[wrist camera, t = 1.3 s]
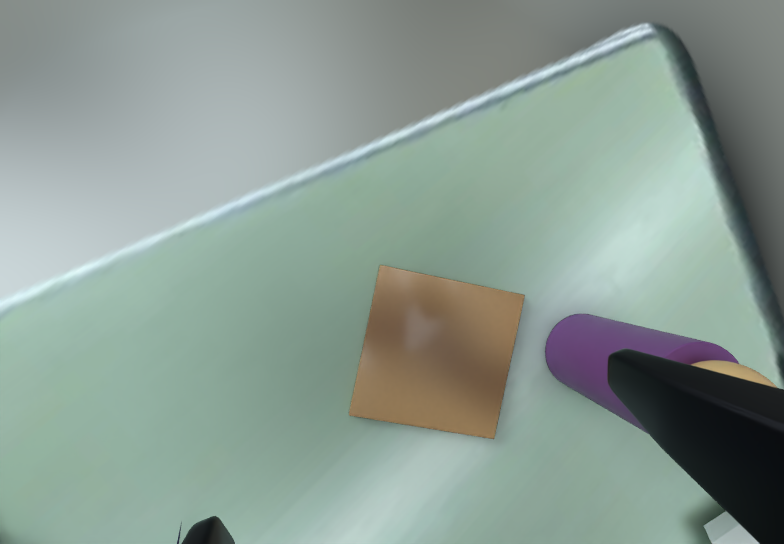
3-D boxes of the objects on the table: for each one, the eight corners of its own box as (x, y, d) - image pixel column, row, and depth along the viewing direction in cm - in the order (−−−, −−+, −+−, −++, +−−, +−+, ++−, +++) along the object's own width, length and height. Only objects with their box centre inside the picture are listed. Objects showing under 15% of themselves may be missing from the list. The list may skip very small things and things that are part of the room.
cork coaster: (492, 436, 26) (494, 439, 25) (348, 413, 25) (348, 415, 24) (522, 294, 26) (525, 295, 25) (379, 264, 24) (380, 264, 24)
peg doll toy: (606, 392, 26) (820, 506, 14) (538, 380, 26) (700, 486, 14) (621, 321, 26) (850, 373, 14) (553, 307, 26) (730, 348, 14)
